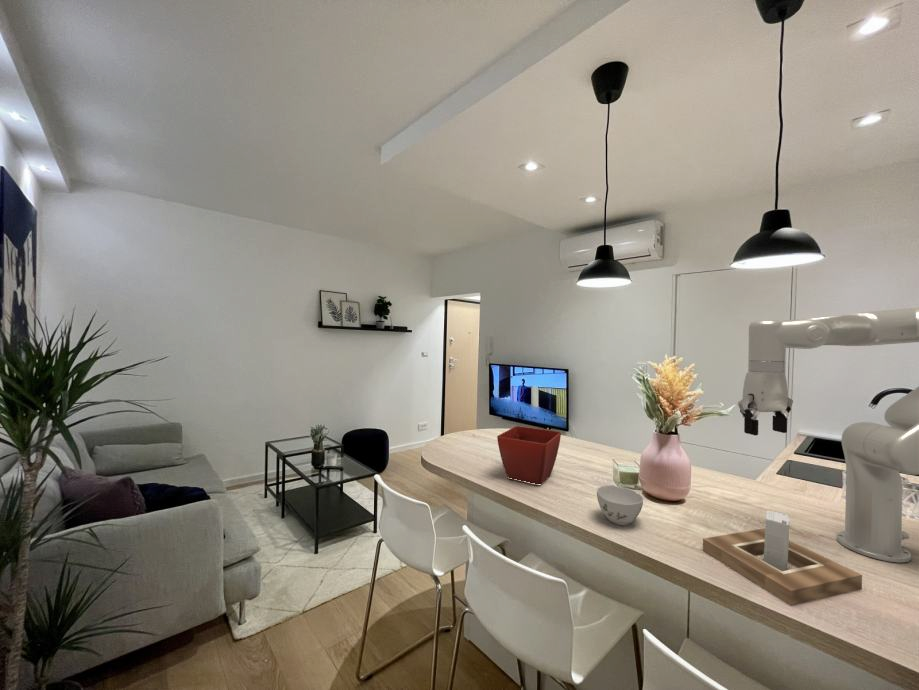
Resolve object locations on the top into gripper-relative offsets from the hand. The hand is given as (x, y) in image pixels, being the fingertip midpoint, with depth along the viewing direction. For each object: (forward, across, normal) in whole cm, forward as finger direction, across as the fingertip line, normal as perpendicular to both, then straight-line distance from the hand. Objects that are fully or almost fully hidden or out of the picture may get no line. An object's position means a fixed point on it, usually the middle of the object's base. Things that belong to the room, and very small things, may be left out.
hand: (765, 432), depth 98 cm
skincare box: (+28, +10, +10) cm, 32 cm away
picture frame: (+28, +10, +10) cm, 32 cm away
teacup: (+28, +29, -19) cm, 45 cm away
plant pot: (+29, +41, -56) cm, 75 cm away
